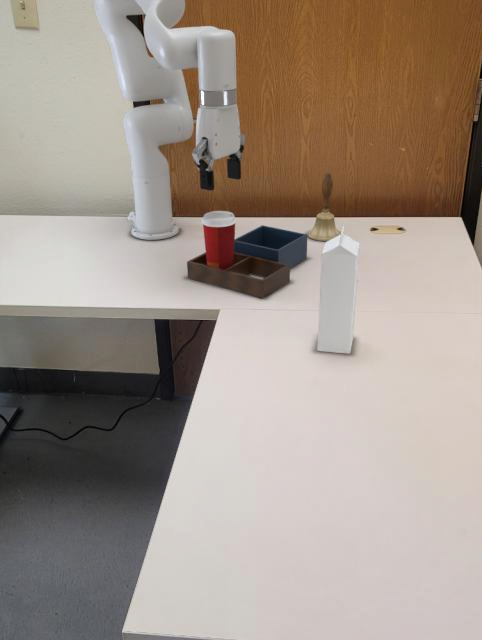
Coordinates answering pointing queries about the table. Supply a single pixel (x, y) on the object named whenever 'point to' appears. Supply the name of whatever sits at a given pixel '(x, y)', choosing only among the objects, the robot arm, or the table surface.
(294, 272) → the table surface
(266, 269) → the wooden divided tray
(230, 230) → the paper cup
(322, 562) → the table surface
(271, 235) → the blue square tray
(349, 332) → the milk
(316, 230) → the hand bell
